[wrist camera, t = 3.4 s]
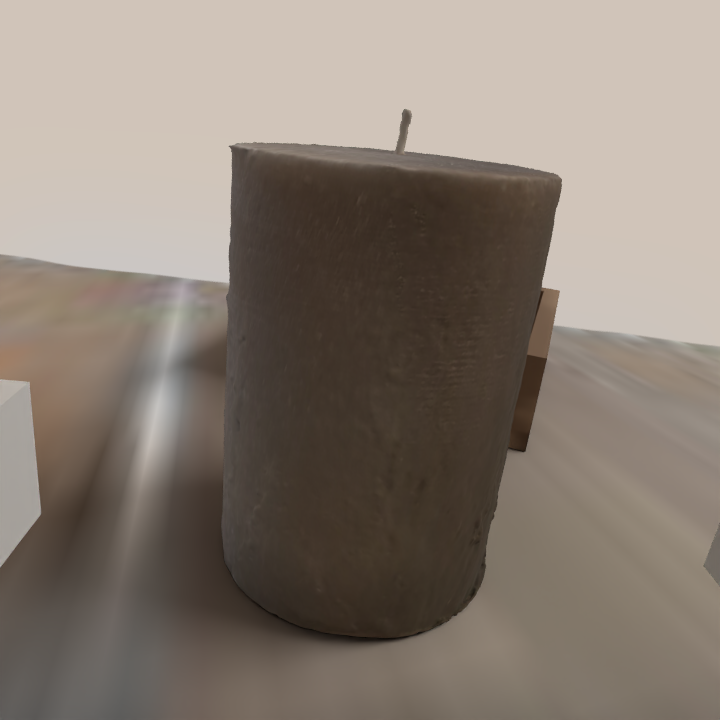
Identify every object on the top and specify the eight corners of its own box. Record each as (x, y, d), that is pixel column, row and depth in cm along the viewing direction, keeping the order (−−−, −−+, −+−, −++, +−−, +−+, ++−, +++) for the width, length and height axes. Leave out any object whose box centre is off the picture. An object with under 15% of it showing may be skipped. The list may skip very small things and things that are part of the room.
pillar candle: (540, 582, 22) (653, 135, 17) (297, 693, 17) (353, 91, 12) (381, 455, 30) (426, 117, 24) (177, 505, 24) (179, 85, 19)
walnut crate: (544, 358, 45) (559, 290, 43) (525, 451, 31) (546, 358, 29) (347, 317, 49) (353, 253, 47) (255, 384, 35) (260, 298, 33)
